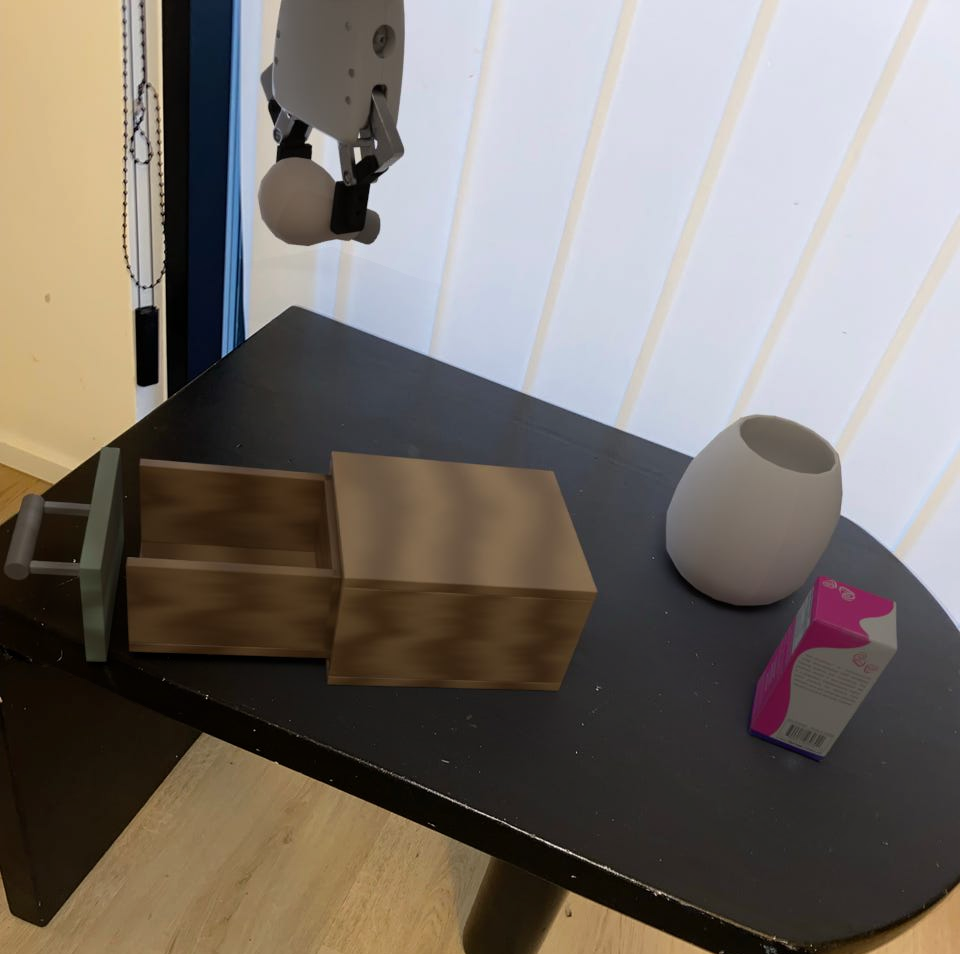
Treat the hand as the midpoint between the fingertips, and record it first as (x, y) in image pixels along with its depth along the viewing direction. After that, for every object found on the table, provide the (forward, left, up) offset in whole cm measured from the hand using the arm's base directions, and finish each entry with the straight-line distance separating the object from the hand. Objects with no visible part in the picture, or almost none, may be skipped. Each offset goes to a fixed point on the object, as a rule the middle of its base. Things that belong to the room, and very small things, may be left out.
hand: (318, 211), depth 80 cm
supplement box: (+53, +4, -17) cm, 55 cm away
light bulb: (+1, 0, -3) cm, 3 cm away
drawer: (+19, -26, -16) cm, 36 cm away
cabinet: (+30, -11, -17) cm, 36 cm away
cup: (+40, +15, -17) cm, 46 cm away
